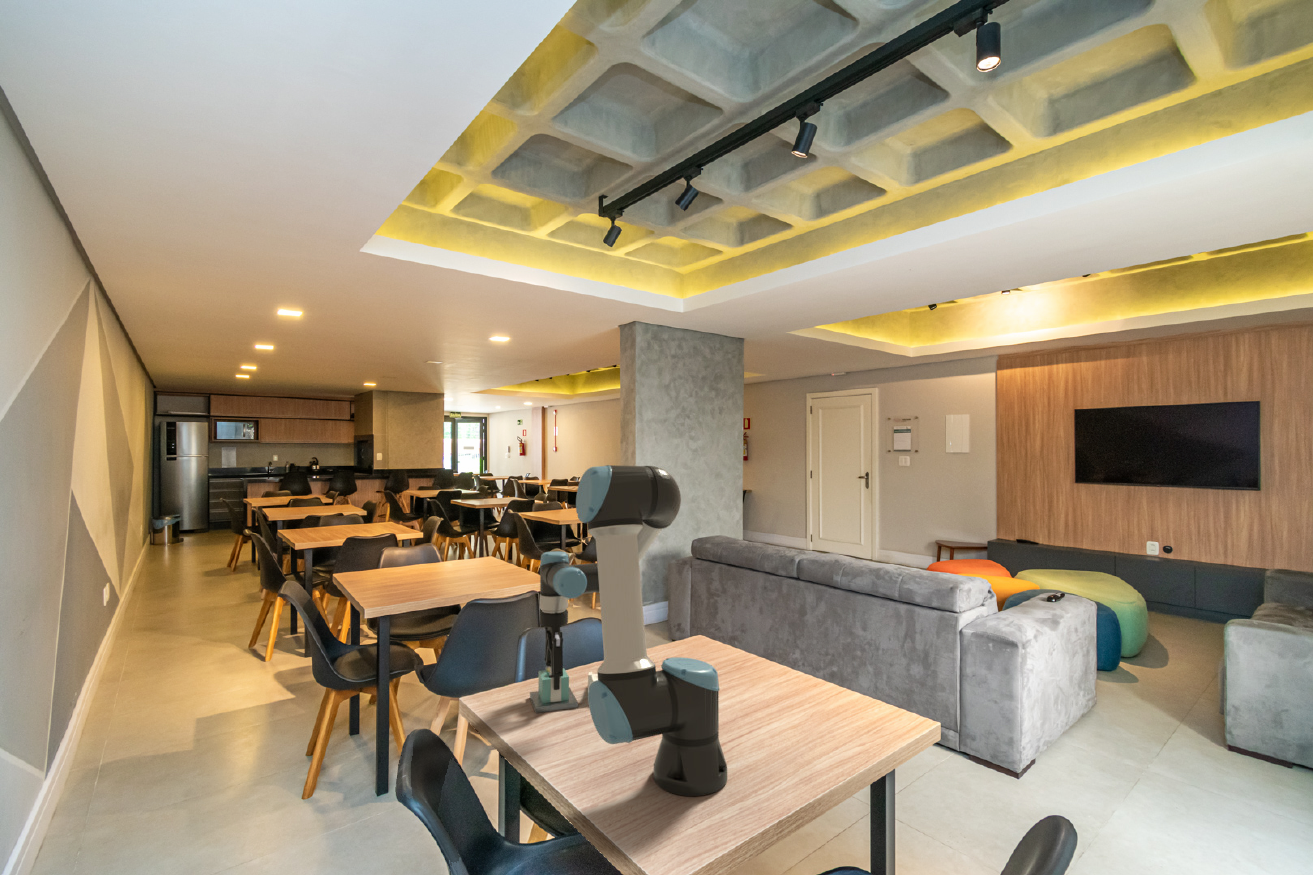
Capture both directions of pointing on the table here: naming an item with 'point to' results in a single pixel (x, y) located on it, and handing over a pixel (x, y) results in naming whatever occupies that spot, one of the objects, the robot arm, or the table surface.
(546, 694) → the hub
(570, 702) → the shaft base
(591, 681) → the bracket
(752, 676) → the table surface
